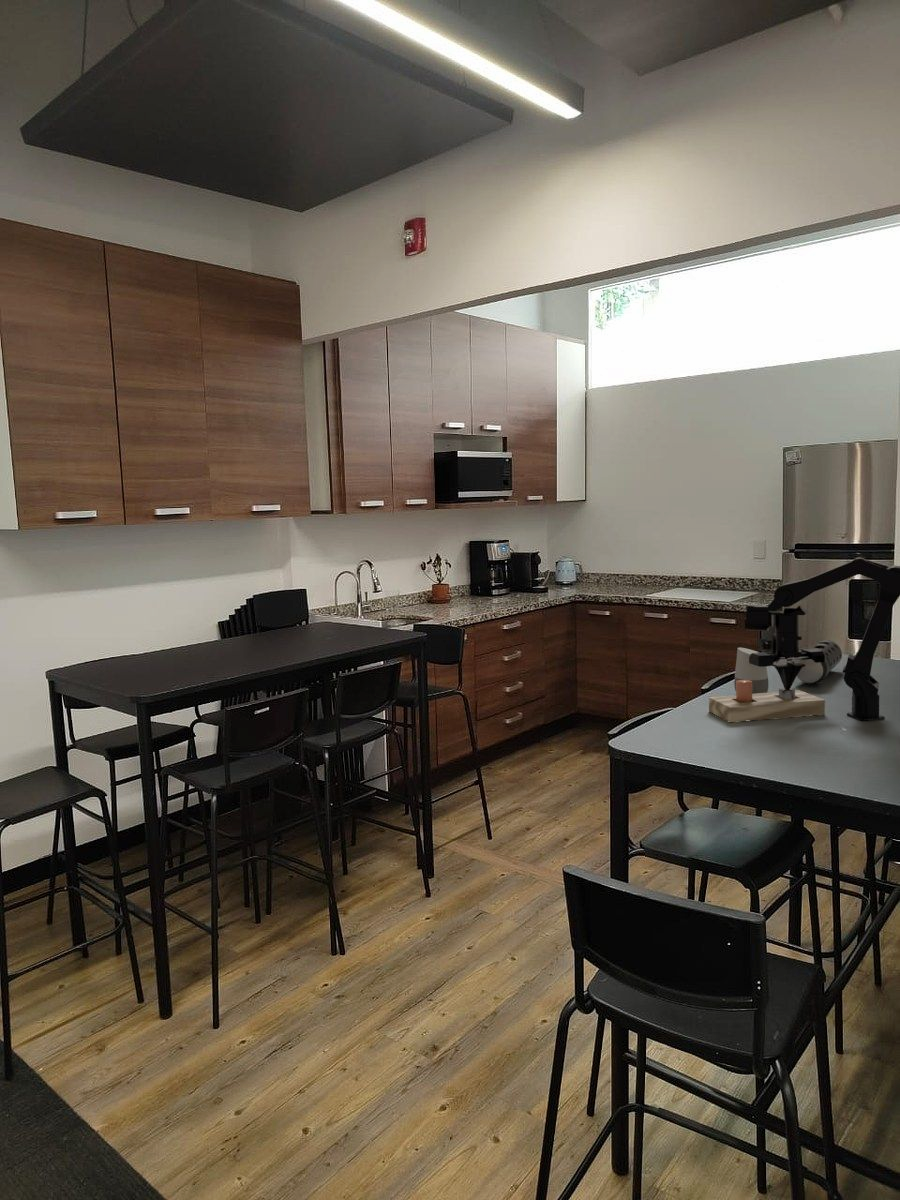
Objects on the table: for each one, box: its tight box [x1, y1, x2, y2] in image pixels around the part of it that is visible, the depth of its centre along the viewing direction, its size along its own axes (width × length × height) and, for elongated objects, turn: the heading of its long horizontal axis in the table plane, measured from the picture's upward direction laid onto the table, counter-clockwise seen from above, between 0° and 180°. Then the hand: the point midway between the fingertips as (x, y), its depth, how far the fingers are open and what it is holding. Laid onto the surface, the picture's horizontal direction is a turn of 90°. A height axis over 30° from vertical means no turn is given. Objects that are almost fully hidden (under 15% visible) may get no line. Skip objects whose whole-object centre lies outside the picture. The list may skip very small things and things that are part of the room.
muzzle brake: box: [796, 640, 843, 685], centre depth 253 cm, size 10×28×10 cm, turn 145°
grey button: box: [778, 687, 796, 700], centre depth 216 cm, size 4×4×6 cm
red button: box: [735, 680, 752, 703], centre depth 214 cm, size 4×4×6 cm
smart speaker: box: [734, 647, 769, 694], centre depth 234 cm, size 10×9×14 cm
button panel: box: [708, 689, 826, 723], centre depth 215 cm, size 12×26×4 cm, turn 98°
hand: (787, 689), depth 215 cm, fingers closed, pressing on grey button
